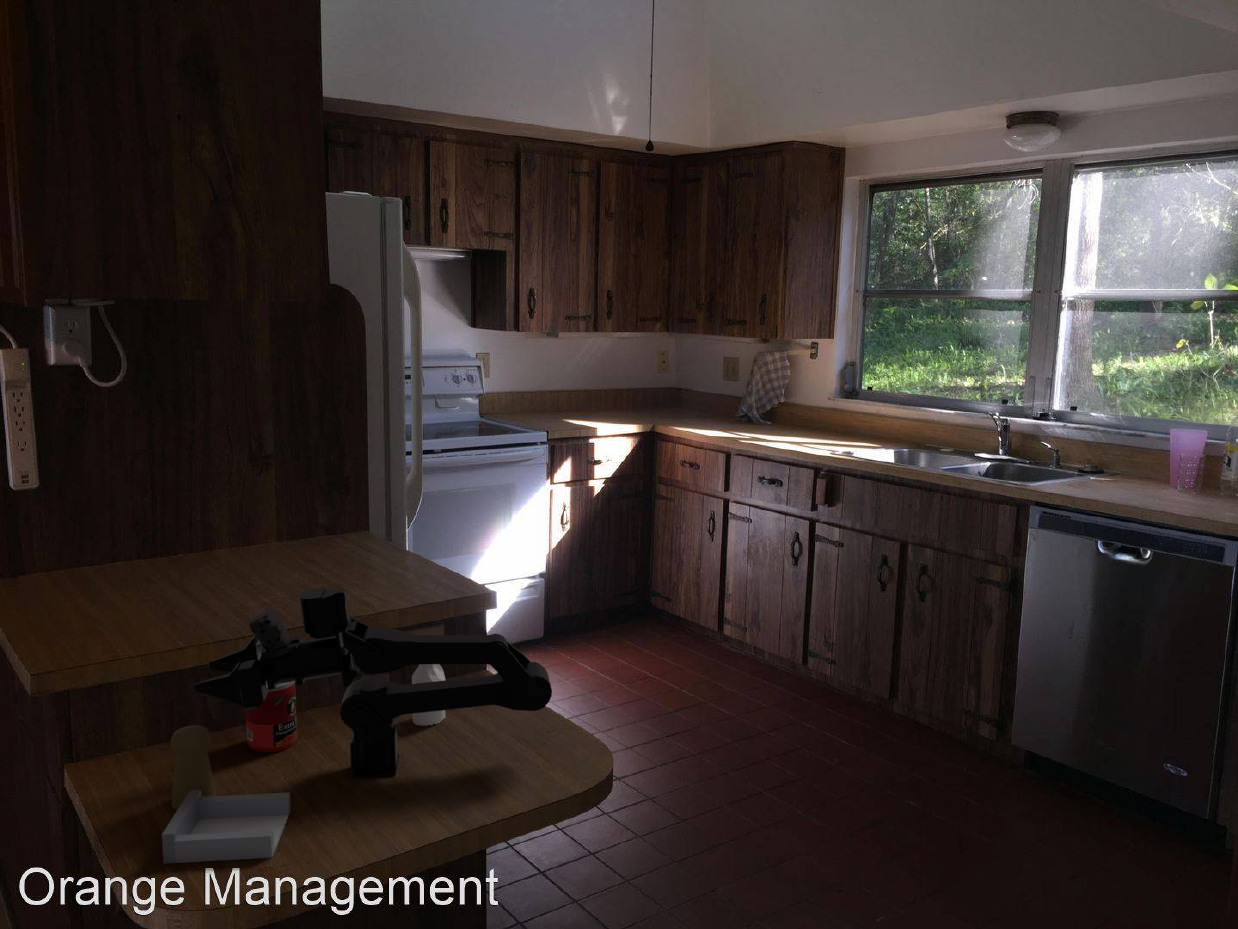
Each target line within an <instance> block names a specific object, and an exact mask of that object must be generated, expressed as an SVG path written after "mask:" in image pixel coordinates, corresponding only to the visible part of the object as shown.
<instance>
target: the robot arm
mask: <svg viewBox="0 0 1238 929" xmlns="http://www.w3.org/2000/svg"><path fill="white" fill-rule="evenodd" d="M347 598H348V597H347V589H345V588H341V589H337V588H333V587H328V588H326V587H325V586H324V587H317V588H313V589H309V590H306V591H303V592H301V593H300V594H299V595H298V601H299V605H300V612H301V619H302V624H303V630H304V633H305V634H308V635H309V636H310V638H312V639H311V640H306V641H305V640H303V638H302V637H300V636H292V637H291V635H290V633H289V632H288V629H287V628H286V626H285V624H284V623H283V621H282V619H281V617H280V615H278V614H279V613H277V610H276V609H275V608H274V607H270V608H268V609H266V610H265V611H262V612H260V613H258V614H256V615H254V616H253V617H252V619H251V621H249V623H248V626H249V628H250V631H251V633H252V634H254V635H253V636H252V638H251V639H250V640H249V642H248V643H247V644H246V646H244V647H242V648H239V649H238V650H235V651H233V652H230V653H228V654H225V655H223V656H221V657H218V658H215V659H212V660H211V661H209V662H208V666H209V669H210V670H211V671H212V670H214V671H219V672H225V673H226V672H228V673H226V674H222V675H219V676H215V677H212V678H209V679H205V680H202V681H199V682H196V683H194V685H193V686H194V691H195V692H196V693H199V694H203V695H206V696H210V697H213V698H218V699H220V700H224V701H227V702H230V703H233V704H236V705H238V706H239V708H243V710H244V711H246V710H251V709H258V708H259V707H260V706H261V704H262V703H263V702H264V700H265V698H266V696H267V693H268V691H267V686H268V690H270V689H275V688H276V686H277V684H280V683H287V682H293V681H295V686H301V685H302V686H303V685H304V684H305V681H306V680H310V679H318V678H324V677H330V676H335V675H341V679H342V684H343V687H344V688H346V690H345V691H344V694H343V699H342V702H341V705H340V709H339V710H340V712H339V714H340V718H341V720H342V722H343V723H344V724H345V725H346V726H347V727H348V728H349V729H350V730H352V732H353V736H352V738H351V740H350V743H349V751H350V768H351V769H352V777H353V778H361V777H362V778H363V777H365V778H366V777H381V776H382V777H387V776H395V775H396V774H397V772H398V766H399V763H400V762H399V761H400V754H398V726H397V724H394V720H395V719H398V717H399V718H400V717H401V716H404V715H405V716H406V715H413V714H415V713H425V712H434V711H443V710H445V711H450V710H458V709H459V710H460V709H461V710H462V709H469V708H479V707H488V706H489V707H490V706H498V707H502V708H504V709H508V710H512V711H522V712H523V711H524V712H526V711H527V712H537V711H540V710H543V709H544V708H546V706H547V705H548V704H549V702H550V701H551V698H552V696H553V695H552V693H553V690H552V684H551V680H550V676H549V673H548V670H547V669H546V668H545V667H544V666H543V665H542V664H540V663H539V662H537V661H531V660H530V659H529V658H528V657H527V656H526V655H525V654H524V653H522V652H521V650H519V649H517V648H516V647H515V646H513V645H512V644H510V643H511V642H509V641H508V640H507V639H506V638H505V636H504V635H501V634H498V633H492V634H491V633H490V634H468V635H467V634H413V633H408V632H406V631H403V630H401V629H397V628H393V627H386V626H380V625H373V626H369V625H368V624H367V623H365V622H362V621H360V620H358V619H356V618H354V617H353V616H349V611H348V605H347ZM353 661H354V662H353ZM354 663H355V664H354ZM420 664H440V665H490V666H491V667H492V668H493V669H494V670H495V672H496V673H495V674H491V675H484V676H475V677H463V678H457V679H445V681H435V682H426V683H416V684H412V683H409V684H400V683H395V682H392V681H389V680H390V674H389V673H388V672H395V671H398V670H400V669H403V668H407V667H409V666H415V665H420ZM360 671H361V672H362V673H364V674H362V677H361V679H356V680H354V679H355V678H356V677H357V676H358V675H359V672H360ZM366 674H368V675H366ZM375 674H376V675H375ZM377 674H378V675H377ZM353 680H354V681H353ZM266 682H267V685H266Z"/></svg>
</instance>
